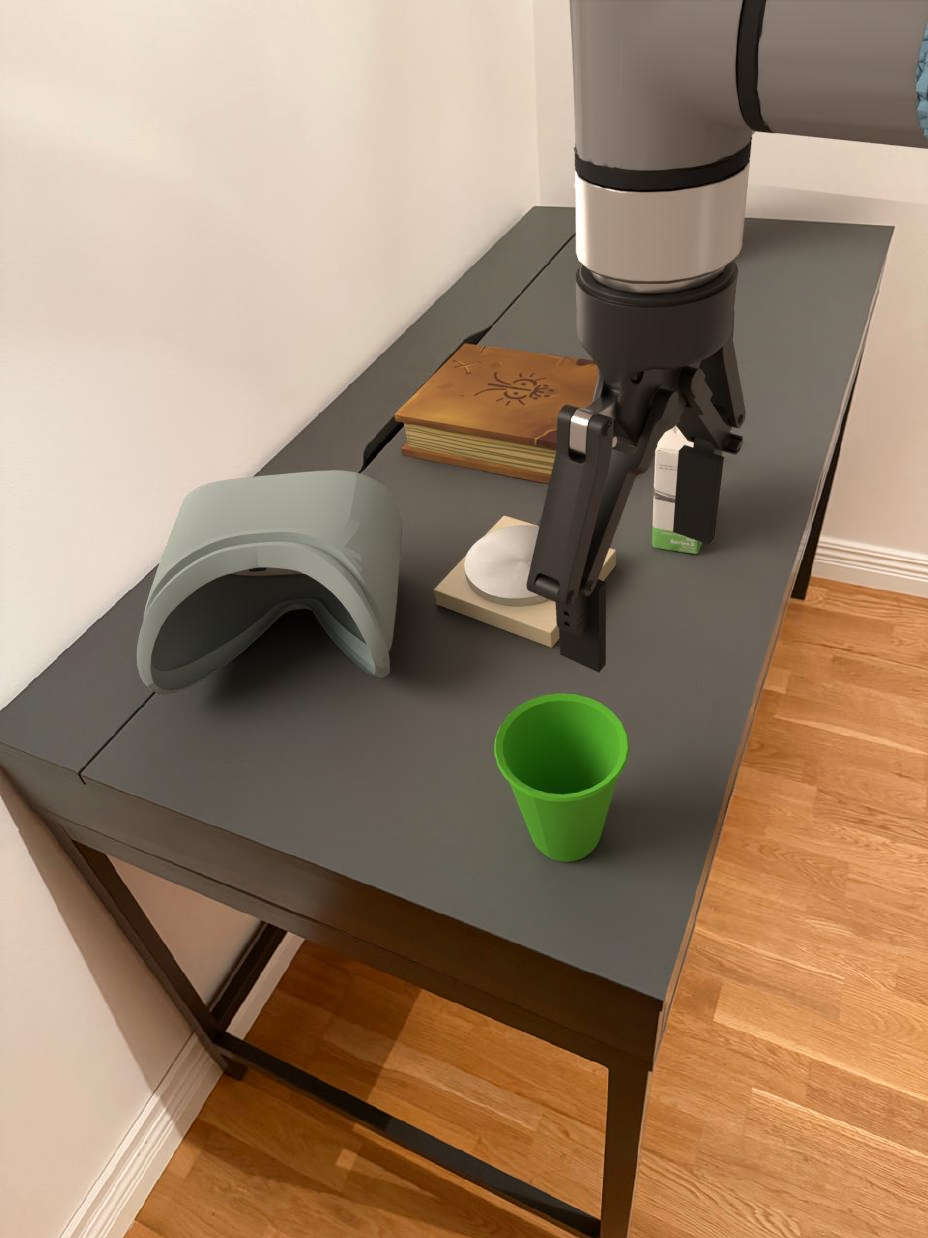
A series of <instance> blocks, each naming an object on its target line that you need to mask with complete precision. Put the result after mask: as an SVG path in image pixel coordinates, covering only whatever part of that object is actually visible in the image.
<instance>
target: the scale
mask: <svg viewBox="0 0 928 1238" xmlns="http://www.w3.org/2000/svg"><path fill="white" fill-rule="evenodd" d="M520 525H531V526H538V525H536V524H534V523H530V522H527V521H523V520H521V519H520V520H519V519H517V518H514V517H511V516H507V515H503V516H502V517H501V518H500V519H499V520H498V521H497V522H496V523H495V524H494V525H493V526H492V527H491V529H489V530H488V531H487V532H486V534H485V535H487V534H489V533H491V532H494V531H496V530H499V529H502V528H506V527H511V526H520ZM465 558H466V555H465V556H464V557H463V558H462V559H461V560H460V561H459V562H458V563H457V565H455V567H453V568H452V570H451V571H450V572H449V573H448V574H447V575H446V576H444V578H443V579H442V580H441V581H440V582H439V583H438V584H437V585H436V587H435V588H434V589H433V593H434V599H435V605H437V606H440V607H441V608H442V607H443V608H445V609H447V610H449V611H453V612H455V613H458V614H461V615H463V616H466V617H469V618H472V619H474V620H477V621H480V622H483V623H485V624H488V625H490V626H491V627H495V628H497V629H500V630H503V631H506V632H509V633H511V634H514V635H516V636H519V637H521V638H523V639H524V638H525V639H527V640H529V641H532V642H535V643H538V644H541V645H543V646H546V647H548V648H551V649H553V648H554V646H555V644H557V642H558V641H559V640H560V639H559V628H558V626H557V624H556V617H557V616H556V604H555V602H554V601H551V600H547V601H545V602H542V603H538V604H534V605H528V606H507V605H501V604H497V603H493V602H490V601H488V600H486V599H484V598H482V597H481V596H479V595H478V594H477V593H475V592H474V591H473V590H472V589H471V587H470V586H469V584H468V582H467V580H466V576H465V569H464V562H465ZM616 566H617V550H616V549H615V548H611V547H610V548H609V551H608V553H607V556H606V559H605V562H604V564H603V567H602V570H601V572H600V575H599V578H598V579H600V580H602V581H605V580H606V578H608V576H609V575H610V573H611V572H612V571H613V569H614V568H615V567H616Z"/></svg>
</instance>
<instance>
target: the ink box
mask: <svg viewBox="0 0 928 1238" xmlns="http://www.w3.org/2000/svg"><path fill="white" fill-rule="evenodd" d="M684 445H687V446H690V447H693V445H694V443H693V442H690V441H687V439H686V438H685V437H684V435H683V434H682V433H681V432H680V430H679V429H678V428H677V426H674V427H673V428H672V429H670V430H668V431H666V432H665V433H664V435H663V436H662V438H661V439H660V440H659V442H658V444H657V447H656V450H655V452H654V455H655V456H654V472H653V473H654V475H653V476H654V477H653V478H654V479H653V501H652V502H653V504H652V506H653V507H652V530H651V546H652V547H653V548H656V549H660V550H661V549H662V550H667V551H668V550H669V551H674V552H679V553H685V554H686V553H687V554H692V555H698V554H699V552H700V549H701V546H702V544H703V543H702V542H700V541H697V540H694V539H691V538H688V537H686V536H683V535H680V534H677V533H674V532H673V523H674V509H675V495H676V481H677V467H678V453H679V450H680V449H681V448H682V447H683V446H684Z"/></svg>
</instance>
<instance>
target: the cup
mask: <svg viewBox="0 0 928 1238" xmlns="http://www.w3.org/2000/svg"><path fill="white" fill-rule="evenodd" d="M493 747H494V748H493V751H494V752H493V753H494V758H495V761H496V765H497V768H498V769H499V771H500V772H501V774H502V776H503V777H504V779H505V780H506V781H507V782H508V783H509V785H510V788H511V790H512V792H513V795H514V798H515V800H516V802H517V805H518V808H519V810H520V812H521V815H522V817H523V820H524V823H525V825H526V828H527V830H528V832H529V835H530V837H531V840H532V842H533V844H534V845H535V847H536V848H537V850H538V851H540V853H542V854H543V855H544V856H545V857H547V858H549V859H551V860H553V861H557V862H563V863H569V862H570V863H571V862H576V861H579V860H582V859H584V858H586V857H587V856H588V855H590V854H591V853H592V852H593V851H594V850H595V848H596V847H597V845H598V844H599V842H600V840H601V837H602V833H603V829H604V826H605V823H606V820H607V815H608V813H609V809H610V805H611V801H612V798H613V794H614V791H615V788H616V784H617V780H618V779H619V777H620V776H621V775H622V773H623V771H624V769H625V767H626V765H627V763H628V759H629V755H630V740H629V735H628V734H627V730H626V728H625V726H624V724H623V722H622V721H621V719H619V718H618V717H617V716H616V714H615V713H614V711H612V710H610V708H608V707H607V706H605V705H604V704H603V703H601V702H599V701H597V700H595V699H592V698H590V697H587V696H585V695H579V694H575V693H561V692H560V693H559V692H558V693H553V694H552V693H550V694H543V695H540V696H538V697H534V698H531V699H529V700H527V701H525V702H523V703H521V704H520V705H518V706H517V707H515V709H513V710H512V711H511V712H510V713H509V714H507V716H506V717H505V719H504V721H503V722H502V723H501V725H500V726H499V728H498V729H497V733H496V735H495V739H494V745H493Z"/></svg>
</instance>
